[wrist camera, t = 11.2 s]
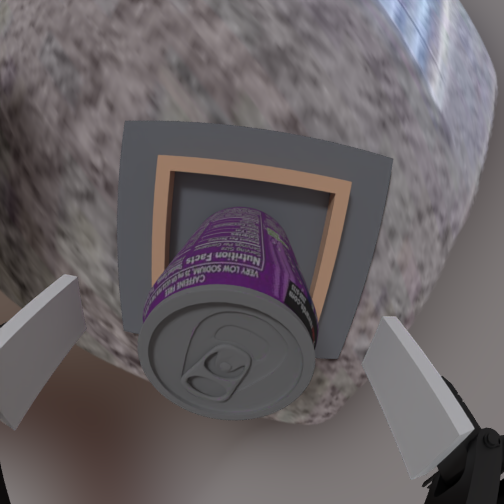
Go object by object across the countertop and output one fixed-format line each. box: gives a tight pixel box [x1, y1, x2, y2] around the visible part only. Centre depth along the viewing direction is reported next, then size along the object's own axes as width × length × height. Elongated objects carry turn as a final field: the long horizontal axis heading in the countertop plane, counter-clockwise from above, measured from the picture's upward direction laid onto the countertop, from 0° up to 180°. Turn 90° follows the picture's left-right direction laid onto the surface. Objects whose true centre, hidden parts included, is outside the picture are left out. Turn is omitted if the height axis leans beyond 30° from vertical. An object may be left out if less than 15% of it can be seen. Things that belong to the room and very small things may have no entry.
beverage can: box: [138, 207, 319, 420], centre depth 14 cm, size 7×7×12 cm
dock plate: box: [117, 121, 393, 359], centre depth 20 cm, size 20×18×2 cm
